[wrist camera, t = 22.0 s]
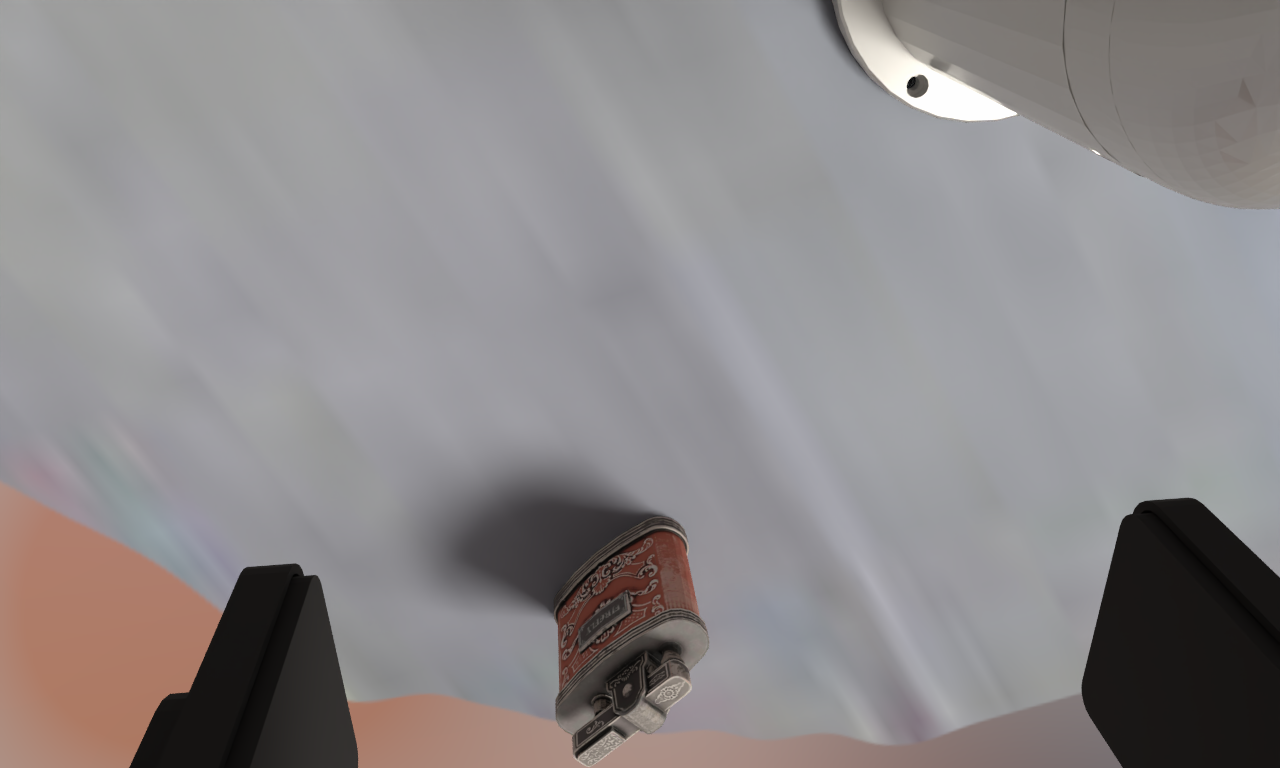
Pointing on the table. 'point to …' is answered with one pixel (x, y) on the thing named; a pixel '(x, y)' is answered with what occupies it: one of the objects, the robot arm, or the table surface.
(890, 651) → the table surface
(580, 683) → the lighter
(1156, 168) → the robot arm
